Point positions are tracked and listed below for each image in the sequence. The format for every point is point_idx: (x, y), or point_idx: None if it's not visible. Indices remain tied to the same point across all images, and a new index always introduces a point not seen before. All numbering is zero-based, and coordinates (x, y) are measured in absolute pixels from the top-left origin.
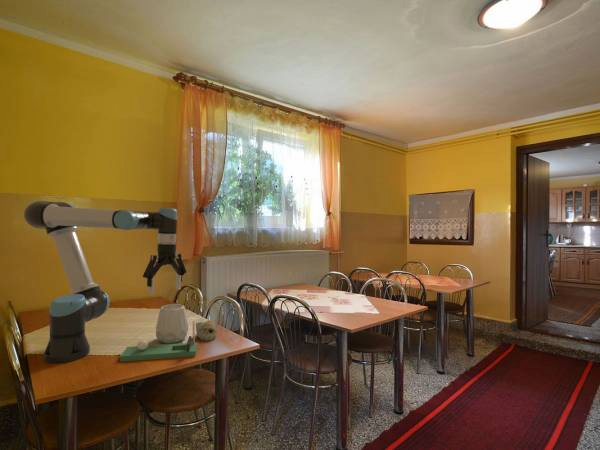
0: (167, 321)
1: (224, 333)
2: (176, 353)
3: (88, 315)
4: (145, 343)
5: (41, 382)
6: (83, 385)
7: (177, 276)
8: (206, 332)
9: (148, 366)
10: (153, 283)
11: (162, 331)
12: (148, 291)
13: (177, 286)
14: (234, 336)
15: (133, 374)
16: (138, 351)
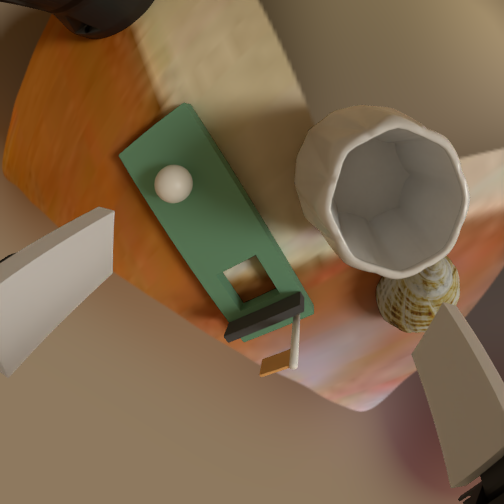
0: (310, 208)
1: None
2: (212, 297)
3: None
4: (168, 201)
5: (18, 107)
6: (36, 194)
7: (480, 445)
8: (387, 314)
9: (139, 255)
10: (35, 337)
11: (297, 178)
12: (84, 217)
13: (436, 352)
14: None
15: None
16: None
